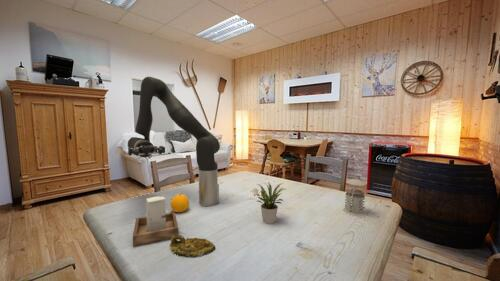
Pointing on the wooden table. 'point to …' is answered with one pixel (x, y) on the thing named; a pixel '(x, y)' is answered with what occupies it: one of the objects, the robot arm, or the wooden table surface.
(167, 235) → the walnut box
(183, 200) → the orange
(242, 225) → the wooden table surface
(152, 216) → the skincare box
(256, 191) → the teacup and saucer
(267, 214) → the house plant
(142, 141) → the robot arm
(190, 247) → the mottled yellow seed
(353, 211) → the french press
